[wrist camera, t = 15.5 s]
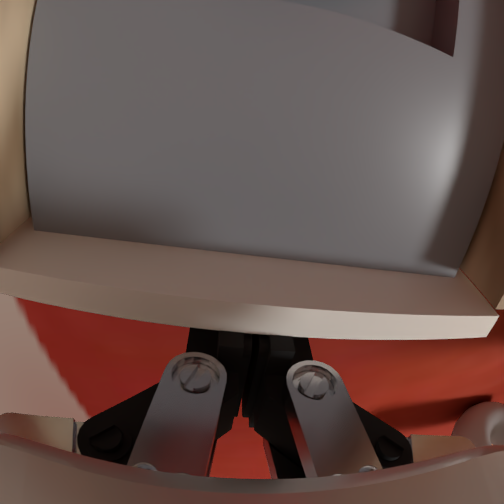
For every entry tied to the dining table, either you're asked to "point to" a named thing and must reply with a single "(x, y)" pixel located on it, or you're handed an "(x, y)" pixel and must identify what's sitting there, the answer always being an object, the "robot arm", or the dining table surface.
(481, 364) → the dining table surface
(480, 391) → the dining table surface
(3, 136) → the dock
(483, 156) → the tray
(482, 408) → the donut
